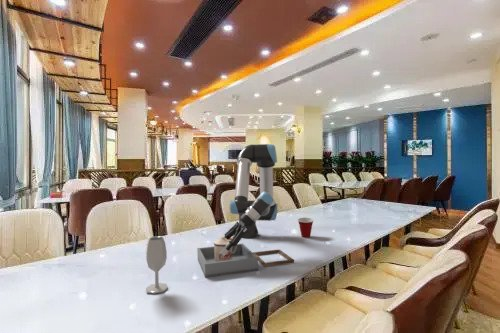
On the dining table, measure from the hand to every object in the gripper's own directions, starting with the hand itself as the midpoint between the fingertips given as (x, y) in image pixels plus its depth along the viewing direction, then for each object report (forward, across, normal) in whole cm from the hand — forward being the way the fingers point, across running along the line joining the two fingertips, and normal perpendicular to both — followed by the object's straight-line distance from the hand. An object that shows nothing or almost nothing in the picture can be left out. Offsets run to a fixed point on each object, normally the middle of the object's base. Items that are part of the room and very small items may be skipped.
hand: (219, 251), depth 144 cm
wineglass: (+26, +18, -16) cm, 36 cm away
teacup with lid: (+1, 0, +6) cm, 6 cm away
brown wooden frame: (-15, 0, +25) cm, 29 cm away
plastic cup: (-42, -33, +52) cm, 74 cm away
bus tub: (+3, 0, +7) cm, 8 cm away
